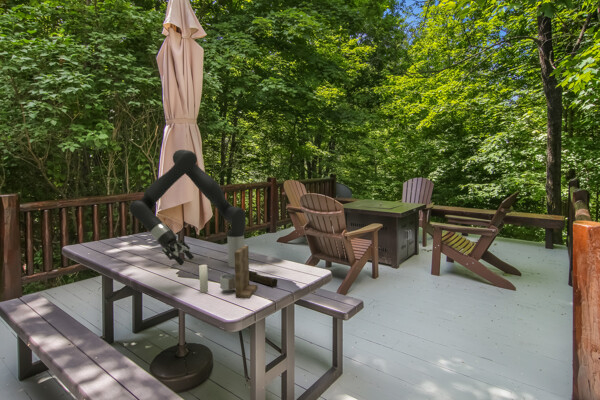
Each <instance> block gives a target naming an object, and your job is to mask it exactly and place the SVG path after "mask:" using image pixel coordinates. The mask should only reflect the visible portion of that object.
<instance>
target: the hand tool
mask: <svg viewBox="0 0 600 400" xmlns="http://www.w3.org/2000/svg"><path fill="white" fill-rule="evenodd" d="M249 281H250V282H257V283H261V284H264V285H267V286H271V288H272V289H273V288H275V287H277V286H278V279H277V278H272V277H270V276H264V275H260V274H258V272H257V271H253V270H249Z"/></svg>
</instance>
